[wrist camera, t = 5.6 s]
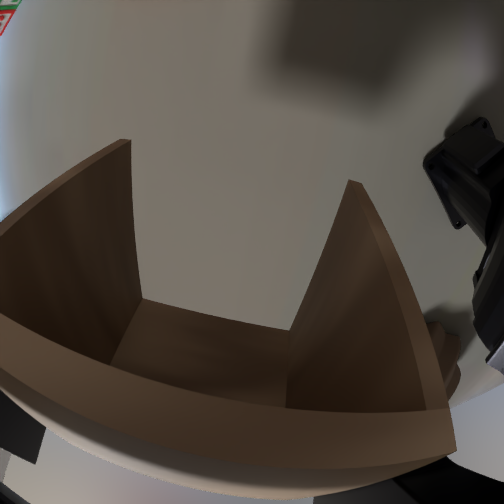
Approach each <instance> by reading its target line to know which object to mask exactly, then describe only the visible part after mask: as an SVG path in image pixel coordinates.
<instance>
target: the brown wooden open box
mask: <svg viewBox="0 0 504 504" xmlns="http://www.w3.org/2000/svg"><path fill="white" fill-rule="evenodd" d="M0 389H1V390H2V391H3V392H4V393H5V394H6V395H7V396H8V397H9V398H10V399H12V400H13V401H14V402H15V403H16V404H17V405H19V406H20V407H21V408H22V409H23V410H25V411H26V412H27V413H28V414H30V415H31V416H32V417H33V418H35V419H36V420H37V421H39V422H40V423H41V424H43V425H44V426H45V427H47V428H48V429H50V430H51V431H52V432H54V433H55V434H57V435H58V436H60V437H61V438H63V439H64V440H66V441H67V442H69V443H70V444H72V445H74V446H76V447H78V448H80V449H82V450H84V451H86V452H88V453H91V454H93V455H95V456H97V457H99V458H101V459H104V460H106V461H108V462H111V463H113V464H116V465H118V466H121V467H124V468H126V469H129V470H132V471H135V472H137V473H141V474H143V475H146V476H149V477H153V478H156V479H159V480H163V481H166V482H170V483H173V484H177V485H181V486H186V487H190V488H194V489H199V490H204V491H209V492H214V493H220V494H226V495H233V496H241V497H249V498H259V499H273V500H292V499H299V498H307V497H314V496H320V495H326V494H332V493H337V492H341V491H346V490H350V489H354V488H358V487H362V486H366V485H370V484H373V483H377V482H380V481H383V480H387V479H390V478H393V477H396V476H399V475H402V474H404V473H407V472H410V471H412V470H415V469H418V468H420V467H423V466H425V465H427V464H430V463H432V462H434V461H437V460H439V459H441V458H443V457H445V456H447V455H449V454H451V453H453V452H456V451H457V448H456V441H455V436H454V429H453V424H452V418H451V413H450V408H449V403H448V399H447V395H446V390H445V386H444V382H443V378H442V375H441V371H440V367H439V364H438V360H437V357H436V354H435V350H434V347H433V344H432V341H431V338H430V335H429V332H428V329H427V326H426V323H425V320H424V317H423V314H422V312H421V309H420V306H419V304H418V301H417V298H416V296H415V293H414V291H413V288H412V286H411V283H410V281H409V278H408V276H407V274H406V271H405V269H404V267H403V264H402V262H401V260H400V258H399V255H398V253H397V251H396V249H395V247H394V245H393V243H392V240H391V238H390V236H389V234H388V232H387V230H386V228H385V226H384V224H383V222H382V220H381V218H380V216H379V214H378V212H377V210H376V209H375V207H374V205H373V203H372V201H371V199H370V197H369V196H368V194H367V192H366V190H365V188H364V187H363V185H362V183H359V182H356V181H352V180H348V183H347V186H346V189H345V192H344V195H343V198H342V200H341V203H340V206H339V209H338V212H337V214H336V217H335V220H334V223H333V225H332V228H331V231H330V233H329V236H328V239H327V241H326V244H325V247H324V249H323V252H322V254H321V257H320V259H319V262H318V264H317V267H316V269H315V272H314V274H313V277H312V279H311V282H310V284H309V286H308V289H307V291H306V294H305V296H304V298H303V301H302V303H301V305H300V308H299V310H298V312H297V315H296V317H295V319H294V321H293V324H292V326H291V328H290V330H289V331H288V330H282V329H277V328H271V327H266V326H260V325H255V324H250V323H245V322H240V321H235V320H231V319H226V318H221V317H217V316H212V315H208V314H203V313H199V312H195V311H190V310H186V309H182V308H178V307H174V306H170V305H166V304H162V303H158V302H155V301H151V300H147V299H143V298H142V292H141V285H140V278H139V270H138V261H137V252H136V242H135V231H134V218H133V202H132V176H131V140H127V139H119V140H118V141H116V142H114V143H112V144H110V145H109V146H107V147H105V148H103V149H102V150H100V151H98V152H97V153H95V154H93V155H92V156H90V157H88V158H87V159H85V160H83V161H82V162H80V163H79V164H77V165H76V166H74V167H73V168H71V169H69V170H68V171H66V172H65V173H64V174H62V175H61V176H59V177H58V178H56V179H55V180H53V181H52V182H51V183H49V184H48V185H46V186H45V187H44V188H42V189H41V190H40V191H38V192H37V193H36V194H34V195H33V196H32V197H30V198H29V199H28V200H27V201H25V202H24V203H23V204H22V205H20V206H19V207H18V208H17V209H16V210H14V211H13V212H12V213H11V214H10V215H8V216H7V217H6V218H5V219H4V220H3V221H2V222H0Z"/></svg>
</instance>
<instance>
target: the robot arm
mask: <svg viewBox="0 0 504 504" xmlns="http://www.w3.org/2000/svg"><path fill="white" fill-rule="evenodd" d="M483 122H484V126H483V127H482V123H483ZM430 163H432V166H431V167H430V168H428V165H429V164H430ZM423 168H424V170H425V172H426V174H427V176H428V177H429V179H430V181H431V183H432V185H433V187H434V189H435V191H436V192H437V194H438V196H439V198H440V200H441V202H442V205H443V207H444V209H445V211H446V213H447V215H448V217H449V219H450V222H451V224H452V226H453V227H454V228H455V229H460V228H462V227H463V226H464V225H466V224H468V225H469V226H470V228H471V229H472V230H473V231H474V232H475V234H476V235H477V236H478V237H479V239H480V240H481V241H482V242H483V244H484V245H485V246H486V251H485V253H484V256H483V258H482V261H481V263H480V266H479V268H478V270H477V271H475V274H474V276H473V284H474V289H475V290H474V294H473V299H472V304H473V311H474V316H475V318H474V320H473V325H474V327H475V330H476V332H477V334H478V336H479V338H480V339H481V341H482V342H483V343H484V345H485V346H486V348H487V349H488V350H489V351H490V354H489V355H488V356H487V357H486V359H485V361H486V363H487V364H488V365H490V366H492V367H493V368H495V369H497V370H498V371H500V372H501V373H502V374H503V375H504V143H503V142H501V141H499V140H497V139H496V138H495V136H494V133H493V131H492V128H491V126H490V123H489V121H488V120H487V119H486V118H484V117H479V118H478V119H476V120H475V121H474V122H473V123H471V124H470V125H466V126H464V127H463V128H462V129H461V130H459V131H458V132H457V133H455V134H454V135H453V136H452V137H450V138H449V139H448V140H446V141H445V142H444V143H443V146H442V147H440V148H439V149H438V150H436V151H435V152H434V153H432V154H431V155H430V156H428V157H427V158H426V159H425V160H424V161H423ZM458 221H459V222H458ZM457 222H458V223H457ZM456 223H457V224H456ZM45 430H46V427H45V426H44V425H43V424H41V423H40V422H39V421H37V420H36V419H35V418H33V417H32V416H31V415H30V414H28V413H27V412H26V411H25V410H23V409H22V408H21V407H20V406H19V405H17V404H16V403H15V402H14V401H13V400H12V399H10V398H9V397H8V396H7V395H6V394H5V393H4V392H3V391H2V390H1V389H0V504H30V503H28V502H27V501H26V500H24V499H23V498H21V497H20V496H19V495H17V494H16V493H15V492H13V491H12V490H11V489H9V488H8V487H7V486H6V485H4V484H3V483H2V482H3V479H4V475H5V471H6V468H7V465H8V462H9V459H10V456H11V454H13V455H16V456H17V457H20V458H22V459H24V460H26V461H28V462H31V463H33V464H36V461H37V457H38V454H39V450H40V447H41V443H42V440H43V437H44V433H45ZM313 504H504V482H501V481H498V480H495V479H492V478H489V477H487V476H484V475H482V474H479V473H476V472H474V471H471V470H469V469H466V468H464V467H462V466H459V465H457V464H456V463H454V462H453V461H451V460H450V459H449V458H448V457H447V456H445V457H443V458H441V459H439V460H437V461H434V462H432V463H430V464H427V465H425V466H423V467H420V468H418V469H415V470H412V471H410V472H407V473H404V474H402V475H399V476H396V477H393V478H390V479H387V480H383V481H380V482H377V483H373V484H370V485H366V486H362V487H358V488H354V489H350V490H346V491H341V492H337V493H332V494H326V495H320V496H314V500H313Z"/></svg>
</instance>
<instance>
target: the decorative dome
mask: <svg viewBox="0 0 504 504" xmlns="http://www.w3.org/2000/svg"><path fill="white" fill-rule="evenodd" d="M426 326H427V329H428V332H429V335H430V338H431V341H432V344H433V347H434V350H435V354H436V357H437V360H438V364H439V367H440V371H441V375H442V378H443V382H444V386H445V390H446V395H447V399H448V401H449V399H450V398H451V396H452V395H453V393H454V392H455V390H456V388H457V386H458V384H459V381H460V377H461V372H460V369H459V367H458V365H457V360H458V357H459V354H460V350H461V341H460V337H459V336H454V335H450V334H446V333H445V331H444V329H443V327H442V325H441V323H440V322H439V321H435V322H432V323H428V324H426Z"/></svg>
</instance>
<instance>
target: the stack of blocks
mask: <svg viewBox="0 0 504 504" xmlns="http://www.w3.org/2000/svg"><path fill="white" fill-rule="evenodd" d="M21 1H22V0H0V36H1V35H2V33H3V32H4V30H5V28H6V26H7V24H8V23H9V21H10V19H11V17H12V16H13V14H14V12H15V11H16V9H17V7H18V6H19V4H20V2H21Z"/></svg>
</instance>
